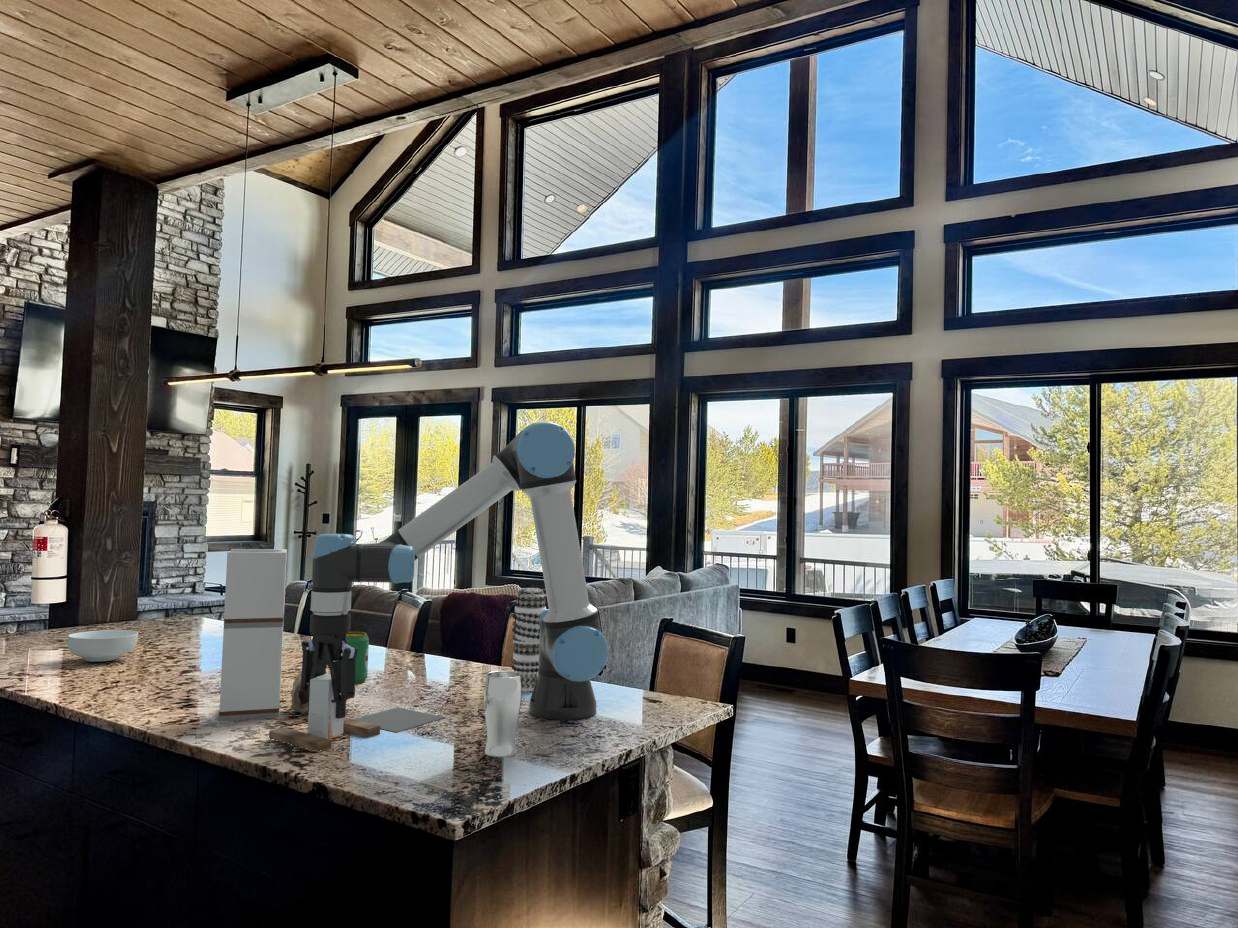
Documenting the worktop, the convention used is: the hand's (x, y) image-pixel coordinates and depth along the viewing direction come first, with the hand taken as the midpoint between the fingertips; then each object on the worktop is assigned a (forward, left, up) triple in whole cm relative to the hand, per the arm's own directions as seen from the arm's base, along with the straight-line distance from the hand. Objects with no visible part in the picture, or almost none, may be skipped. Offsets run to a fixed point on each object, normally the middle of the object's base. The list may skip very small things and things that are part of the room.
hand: (325, 731), depth 161 cm
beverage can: (+35, -37, -2) cm, 51 cm away
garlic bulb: (+18, -11, -2) cm, 21 cm away
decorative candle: (-5, -59, -2) cm, 59 cm away
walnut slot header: (0, 0, -1) cm, 1 cm away
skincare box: (0, 0, -2) cm, 2 cm away
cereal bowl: (+109, -14, -2) cm, 110 cm away
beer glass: (-34, -12, -2) cm, 36 cm away
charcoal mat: (-2, -17, -1) cm, 17 cm away
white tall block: (+27, -3, -2) cm, 28 cm away
